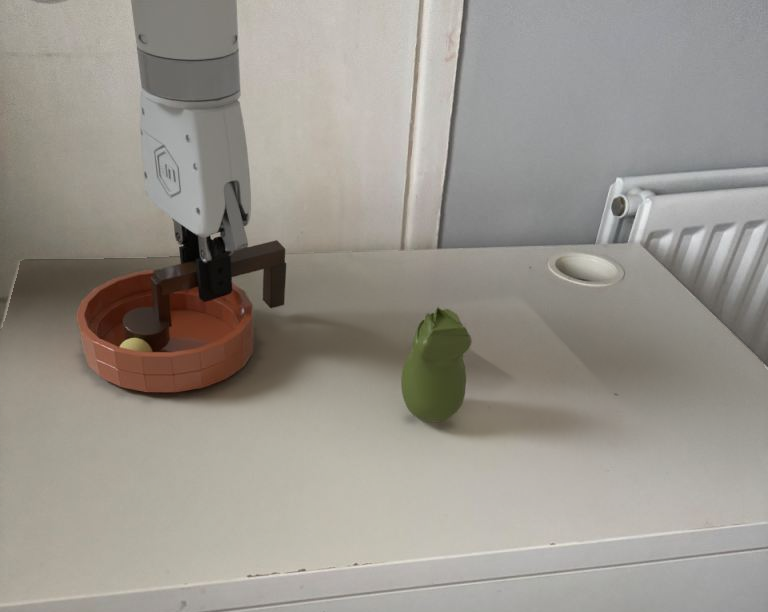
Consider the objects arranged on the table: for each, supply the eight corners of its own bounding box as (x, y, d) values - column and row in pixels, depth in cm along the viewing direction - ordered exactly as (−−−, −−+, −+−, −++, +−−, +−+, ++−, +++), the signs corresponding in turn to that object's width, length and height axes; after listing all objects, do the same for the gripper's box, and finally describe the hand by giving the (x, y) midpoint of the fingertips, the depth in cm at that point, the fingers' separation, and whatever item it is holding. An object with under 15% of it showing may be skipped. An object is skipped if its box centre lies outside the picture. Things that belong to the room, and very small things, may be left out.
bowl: (56, 337, 78) (47, 297, 76) (198, 292, 86) (194, 254, 83) (137, 418, 70) (130, 377, 68) (286, 360, 78) (285, 320, 75)
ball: (120, 342, 75) (104, 353, 73) (144, 327, 74) (129, 338, 71) (140, 370, 76) (126, 382, 74) (164, 356, 75) (150, 368, 72)
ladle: (136, 357, 75) (129, 298, 70) (117, 331, 77) (109, 271, 72) (290, 311, 82) (294, 255, 77) (270, 289, 84) (272, 232, 79)
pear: (447, 393, 76) (461, 294, 69) (471, 427, 73) (488, 327, 66) (390, 402, 74) (399, 302, 68) (412, 438, 71) (423, 336, 64)
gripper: (95, 51, 66) (127, 266, 79) (204, 112, 58) (220, 342, 70) (178, 39, 70) (196, 246, 82) (291, 95, 62) (292, 316, 74)
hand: (207, 289), depth 76 cm, fingers closed on ladle, 2 cm apart
